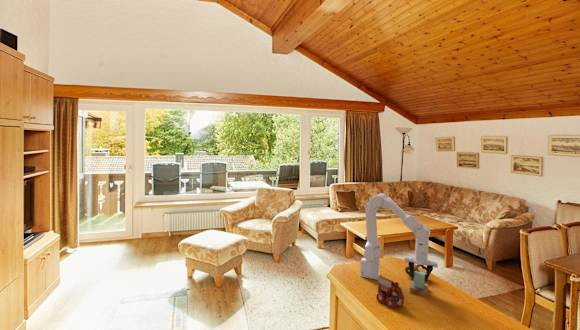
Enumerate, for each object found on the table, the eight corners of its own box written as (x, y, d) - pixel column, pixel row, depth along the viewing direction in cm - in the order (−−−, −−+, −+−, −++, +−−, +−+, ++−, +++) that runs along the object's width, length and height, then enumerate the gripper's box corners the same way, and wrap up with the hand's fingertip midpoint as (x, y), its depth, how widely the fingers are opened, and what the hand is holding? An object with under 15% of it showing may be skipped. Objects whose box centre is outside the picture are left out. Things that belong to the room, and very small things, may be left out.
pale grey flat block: (409, 293, 146) (409, 287, 145) (409, 286, 153) (410, 280, 153) (427, 297, 143) (428, 291, 142) (427, 289, 150) (427, 283, 150)
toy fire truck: (397, 312, 129) (399, 288, 128) (372, 299, 138) (374, 277, 138) (406, 306, 133) (408, 283, 132) (381, 294, 143) (383, 273, 142)
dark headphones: (420, 274, 167) (428, 264, 163) (425, 289, 159) (433, 279, 155) (400, 268, 166) (407, 258, 162) (404, 283, 158) (411, 273, 154)
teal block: (413, 286, 146) (414, 274, 146) (413, 282, 150) (414, 271, 150) (423, 288, 144) (424, 276, 144) (423, 284, 149) (424, 272, 148)
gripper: (405, 251, 145) (403, 279, 146) (439, 257, 140) (436, 285, 141) (405, 247, 151) (403, 273, 153) (437, 251, 146) (435, 279, 147)
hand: (419, 279), depth 147 cm, fingers open, 5 cm apart
